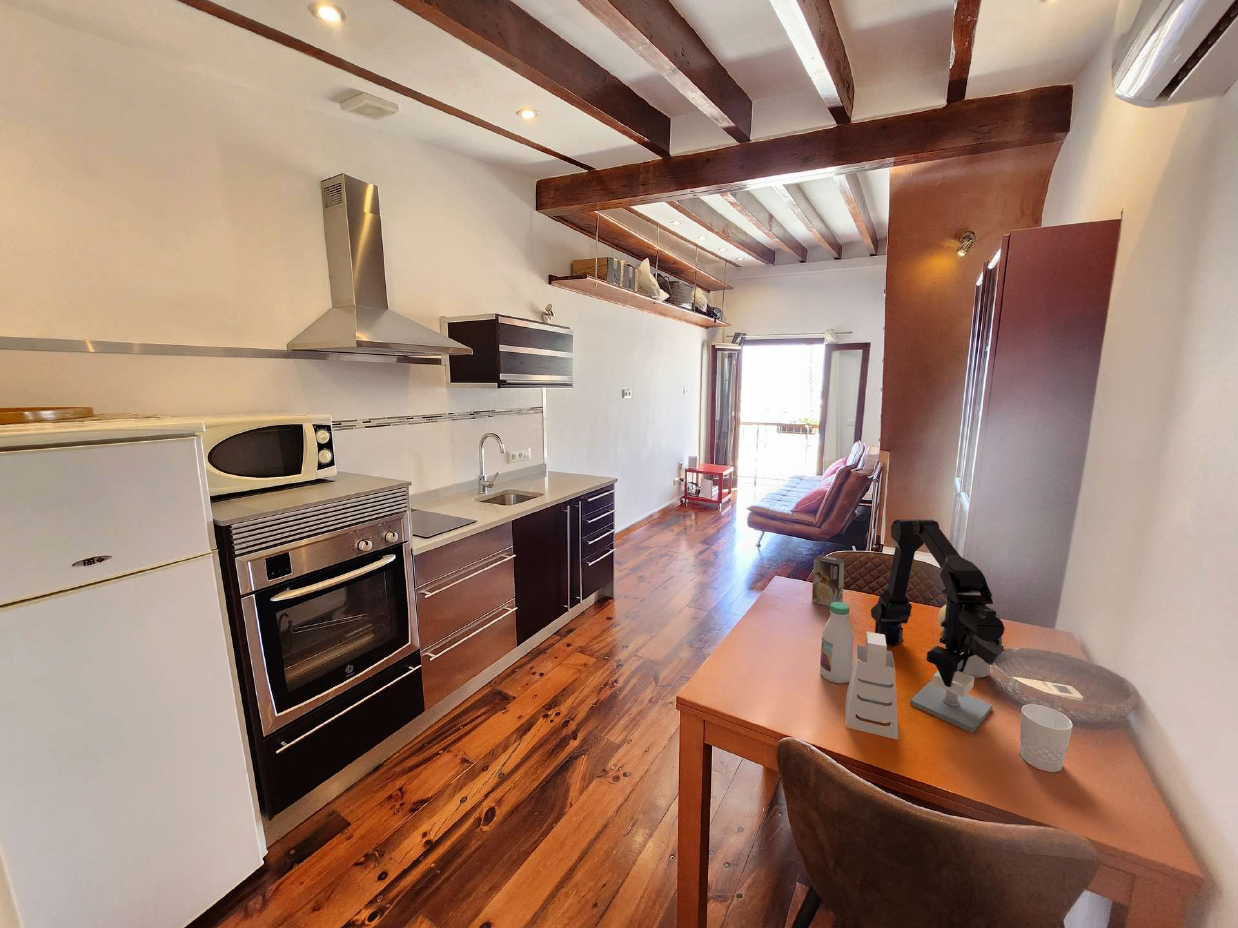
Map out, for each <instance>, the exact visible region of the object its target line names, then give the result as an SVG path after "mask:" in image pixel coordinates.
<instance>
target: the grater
mask: <svg viewBox="0 0 1238 928" xmlns="http://www.w3.org/2000/svg"><path fill="white" fill-rule="evenodd" d="M865 637H866V639H865V646H863V645H858V644H857V645H856V649H855V653H854V656H853V663H852V672H851V677H850V681H849V682H848V686H847V691H846V697H845V728H848V729H852V730H857V731H862V732H865V733H868V734H869V733H870V734H874V735H877V736H882V737H886V738H890V739H893V740H896V741H897V740H899V727H898V725H899V723H898V706H897V704H898V703H897V702H898V701H897V684H896V683H897V682H896V681H897V680H896V668H895V660H894V653H893V651H891V650H887V647H888V646H887V644H886V639H885V635H884V634H878V633H875V632H872V631H866V636H865ZM857 716H858V717H859V718H860V719H863V720H860V719H859V718H857ZM864 720H869V722H868V721H864ZM870 721H873V722H878V723H883V724H889V723H890V725H886V726H885V725H882V724H881V725H880V724H877V723H872V722H870Z"/></svg>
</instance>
